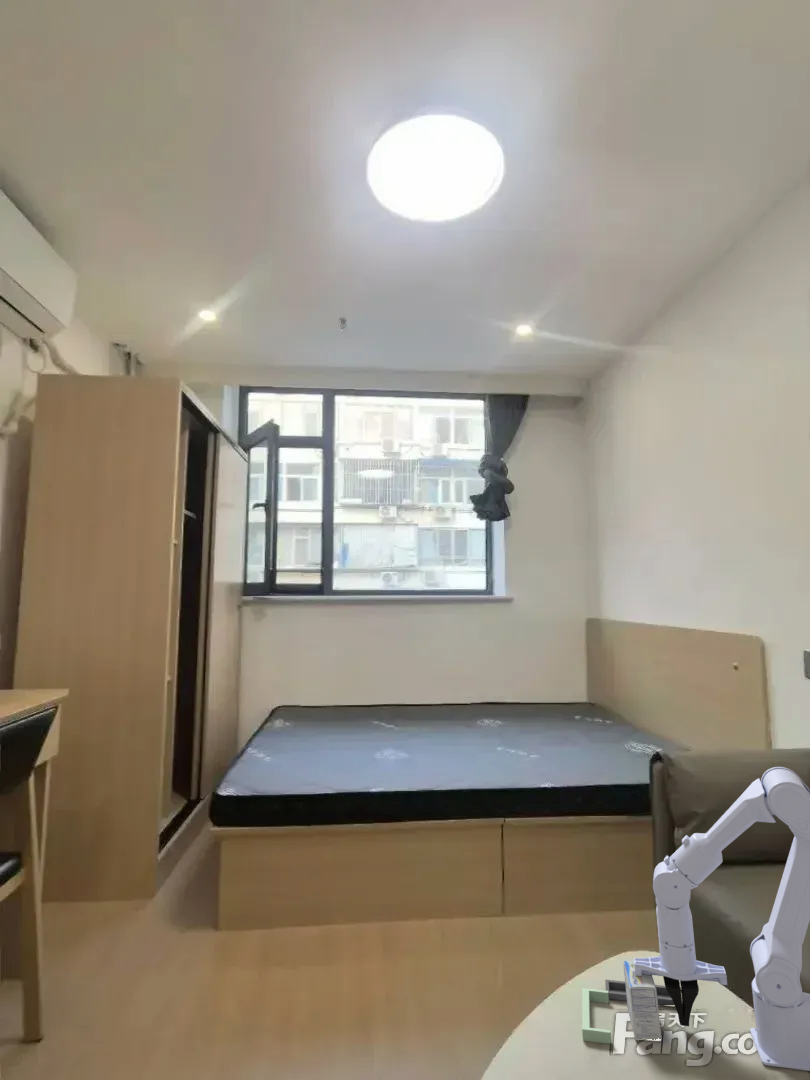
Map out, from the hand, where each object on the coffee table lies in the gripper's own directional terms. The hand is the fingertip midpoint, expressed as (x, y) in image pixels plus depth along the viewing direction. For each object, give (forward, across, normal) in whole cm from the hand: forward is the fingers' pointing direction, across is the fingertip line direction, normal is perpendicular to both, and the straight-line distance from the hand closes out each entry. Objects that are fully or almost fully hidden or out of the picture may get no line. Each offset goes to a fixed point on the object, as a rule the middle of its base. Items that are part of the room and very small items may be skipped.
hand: (683, 1022), depth 105 cm
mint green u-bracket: (+1, +14, 0) cm, 14 cm away
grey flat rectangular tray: (+1, +3, -8) cm, 9 cm away
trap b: (+1, +10, -8) cm, 13 cm away
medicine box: (+2, +7, 0) cm, 7 cm away
